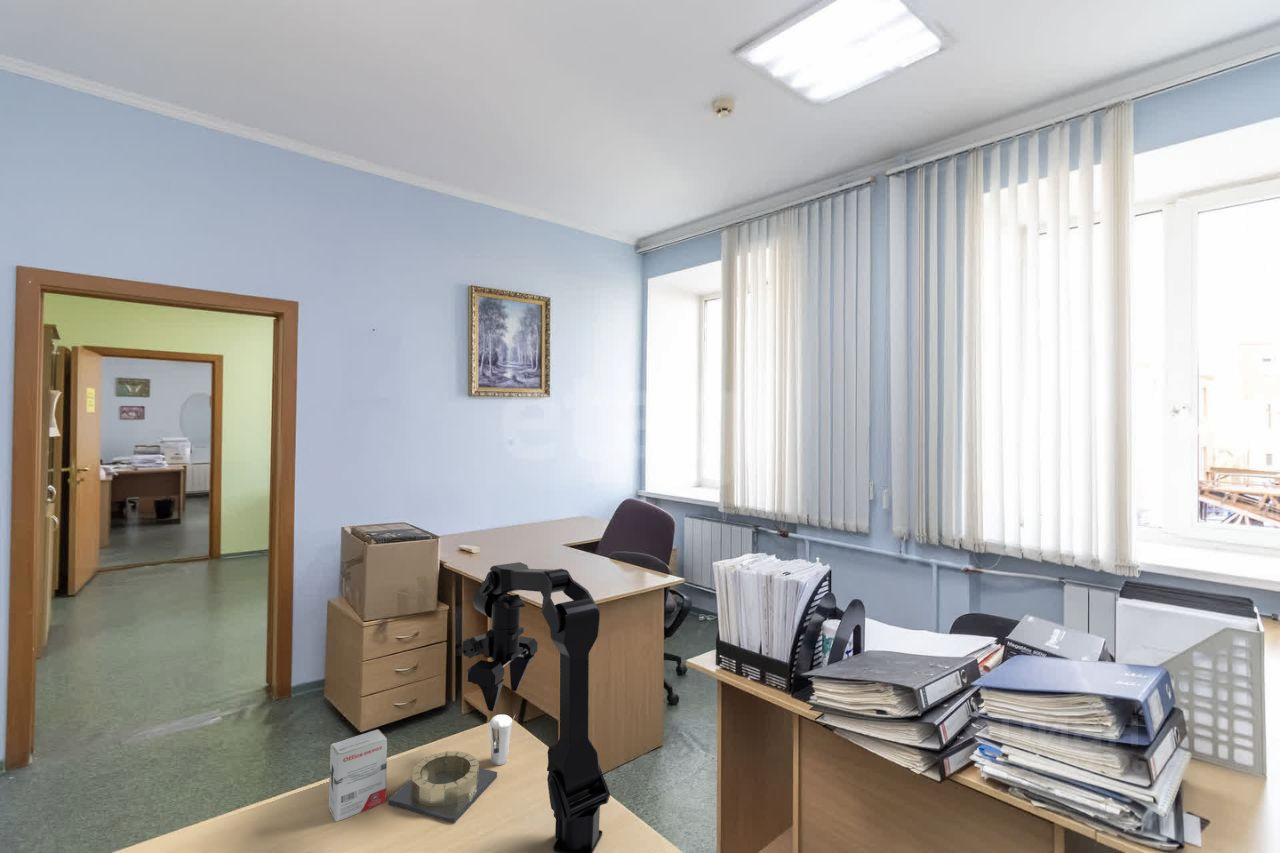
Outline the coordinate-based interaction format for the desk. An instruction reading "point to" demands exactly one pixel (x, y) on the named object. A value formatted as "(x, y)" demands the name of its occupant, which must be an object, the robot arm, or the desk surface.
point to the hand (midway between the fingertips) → (502, 700)
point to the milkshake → (500, 738)
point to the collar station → (444, 786)
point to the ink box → (357, 774)
